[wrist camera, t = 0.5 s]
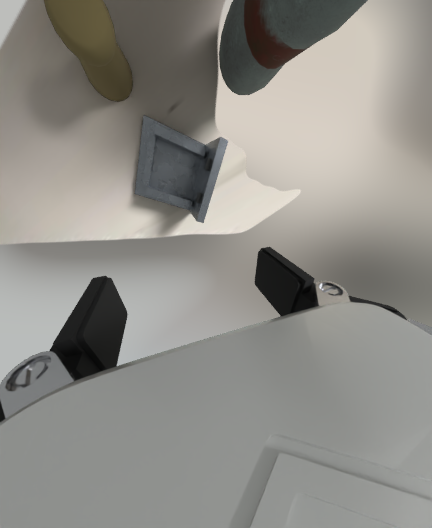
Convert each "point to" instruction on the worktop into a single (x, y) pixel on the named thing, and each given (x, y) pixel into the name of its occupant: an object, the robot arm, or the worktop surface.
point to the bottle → (274, 36)
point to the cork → (93, 44)
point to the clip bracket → (177, 168)
